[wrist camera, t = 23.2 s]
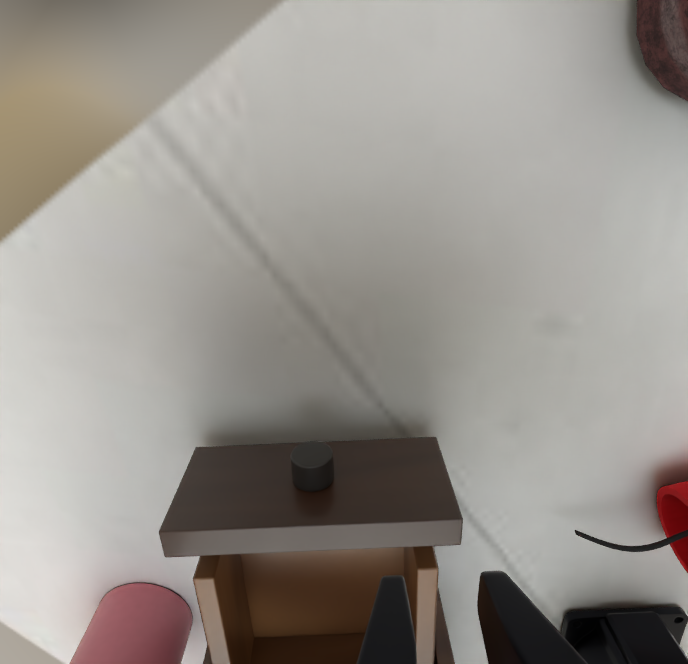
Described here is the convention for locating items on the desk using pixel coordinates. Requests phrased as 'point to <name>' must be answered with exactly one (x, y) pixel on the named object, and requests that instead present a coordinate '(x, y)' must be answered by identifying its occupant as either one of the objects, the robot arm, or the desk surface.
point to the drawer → (311, 543)
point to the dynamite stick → (664, 523)
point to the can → (665, 42)
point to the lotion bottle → (136, 627)
